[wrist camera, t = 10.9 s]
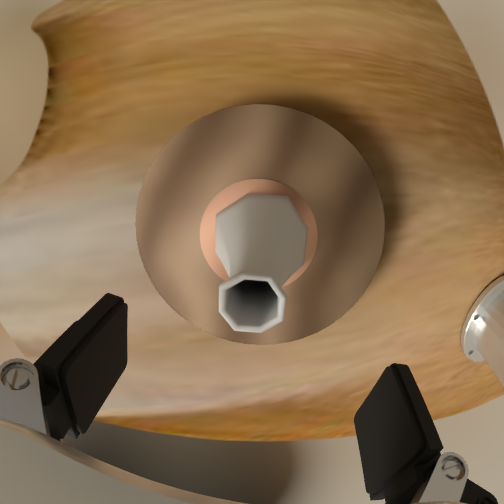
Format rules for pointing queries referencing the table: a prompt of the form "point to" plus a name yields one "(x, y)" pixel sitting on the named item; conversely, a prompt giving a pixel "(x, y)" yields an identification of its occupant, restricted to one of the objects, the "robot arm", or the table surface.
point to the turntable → (260, 182)
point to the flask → (258, 259)
